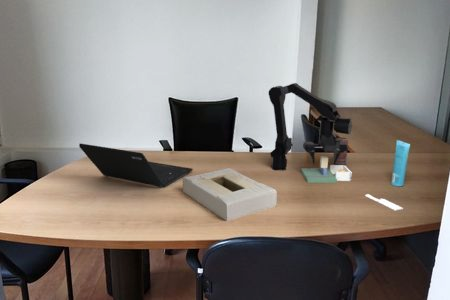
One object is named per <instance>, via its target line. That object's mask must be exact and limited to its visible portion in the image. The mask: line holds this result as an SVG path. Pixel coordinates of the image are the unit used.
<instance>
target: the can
mask: <svg viewBox="0 0 450 300" xmlns="http://www.w3.org/2000/svg"><path fill="white" fill-rule="evenodd" d="M334 140H340V142H344V143H345V144H346V145H347V146H348V147H349V144H350V143H349V141H350V140H349V139H348V138H346V137H335V138H334ZM347 156H348V150H347V151H344V153H341V154H340V155H339V157H338V159H337V161H336V163H335V165H345V166H347Z"/></svg>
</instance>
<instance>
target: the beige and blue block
mask: <svg viewBox="0 0 450 300" xmlns="http://www.w3.org/2000/svg"><path fill="white" fill-rule="evenodd" d="M328 163H329V157H328V156H327V155H320V159H319V168H320V170H319V171H320V172H321V173H322V175H327V169H326V168H328Z"/></svg>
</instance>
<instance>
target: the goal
mask: <svg viewBox="0 0 450 300" xmlns="http://www.w3.org/2000/svg"><path fill="white" fill-rule="evenodd" d="M341 169H343V170H345V172H338V171H339V170H341ZM329 170H330V171H331V172H332V174H333V175H334V176H335V177H336V179H337V182H339V181H340V182H351V181H352V175H353V172H352V171H351V170H350V169H349V168H348V166H347V165H333V164H330V165H329Z"/></svg>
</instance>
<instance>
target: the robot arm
mask: <svg viewBox="0 0 450 300" xmlns="http://www.w3.org/2000/svg"><path fill="white" fill-rule="evenodd" d="M288 94H293V95H295V96H296V97H298V98H300V99H301V100H303V101H304V102H306V103H307V104H309V105H311V106H312V107H313V108H314V109H315V110H316V111H317V113H318V114H320V115H319V116H318V117H317V118H316V119H315V120H316V121H319V122H320V126H319V132H318V134H319V137H318V143H314V142H313V141H304V142H303V145H302V148H303V149H304V151H306V152H307V153H309V155H310V159H311V163H312V165H313V166H314V165H315V159H316V158H315V154H316V151H315V149H323V151H324V152H325V153H328V152H332V153H333V158H332V165H335V163H336V161H337V159H338V157H339V155H340V154H341V153H344V151H347V152H348V150H349V149H348V147H349V145H348V146H347V145H346V144H345V143H344V142H340V140H335V138H334V136H335V135H334V132H335V133H338V134H342V135H343V134H345V135H350V134H351V133H352V130H353V124H352V123H353V122H352V118H351V117H348V118H346V117H341V115H340V113H339V111H338V110H337V109H338V108H337V104H336V103H334V102H333V101H330V100H327V99H324V98H320V97H318V96H317V95H315V94H314V93H312V92H310V91H309V90H308V89H305V88H304V87H303V86H302V85H299V84H298V83H296V82H293V83H289V84H287V85H285V86H282V85H277V86H272V87H271V88H270V89H269V90H268V97H269V101H270V103H271V104H272V106H273V110H274V120H275V121H274V123H275V128H276V139H275V145H274V149H273V150H272V151H271V152H270V153H269V155H270V158H271V165H270V167H271V169H272V170H273V171H276V170H277V171H280V170H281V171H282V170H283V171H286V170H287V166H288V159H287V156H286V155H288V153H289V152H291V150H292V147H293V146H294V145H293V142H292V140H293V137H289V135H288V132H287V124H286V116H285V115H286V113H285V100H286V95H288Z"/></svg>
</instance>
